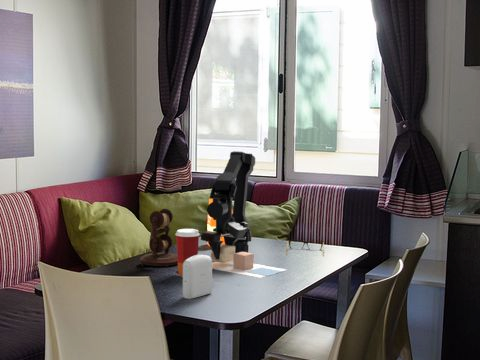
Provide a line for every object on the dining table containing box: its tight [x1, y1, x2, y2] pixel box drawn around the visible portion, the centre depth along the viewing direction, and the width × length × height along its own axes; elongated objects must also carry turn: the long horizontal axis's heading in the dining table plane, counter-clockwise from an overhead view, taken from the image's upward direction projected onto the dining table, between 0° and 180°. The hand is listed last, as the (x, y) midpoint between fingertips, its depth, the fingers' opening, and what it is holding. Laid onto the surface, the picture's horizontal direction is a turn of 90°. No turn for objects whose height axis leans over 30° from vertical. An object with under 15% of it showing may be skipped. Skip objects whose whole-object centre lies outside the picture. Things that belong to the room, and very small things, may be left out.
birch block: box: [210, 244, 235, 263], centre depth 267 cm, size 6×6×5 cm
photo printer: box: [182, 254, 213, 300], centre depth 227 cm, size 10×4×12 cm, turn 140°
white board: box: [212, 261, 287, 279], centre depth 261 cm, size 26×16×1 cm, turn 52°
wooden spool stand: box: [139, 208, 178, 268], centre depth 267 cm, size 15×15×20 cm
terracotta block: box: [233, 252, 255, 270], centre depth 261 cm, size 5×5×5 cm
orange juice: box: [206, 198, 233, 247], centre depth 305 cm, size 8×9×20 cm
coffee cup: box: [174, 228, 201, 277], centre depth 254 cm, size 8×8×15 cm
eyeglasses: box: [286, 239, 325, 257], centre depth 296 cm, size 14×14×4 cm
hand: (223, 257), depth 267 cm, fingers closed on birch block, 6 cm apart
